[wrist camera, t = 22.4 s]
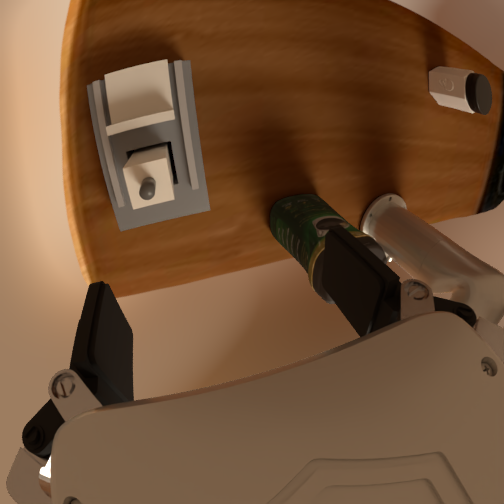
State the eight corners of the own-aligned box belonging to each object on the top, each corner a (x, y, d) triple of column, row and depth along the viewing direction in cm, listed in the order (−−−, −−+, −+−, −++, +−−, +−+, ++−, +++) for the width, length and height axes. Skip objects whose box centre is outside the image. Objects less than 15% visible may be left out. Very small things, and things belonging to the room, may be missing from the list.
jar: (427, 61, 34) (475, 67, 24) (448, 70, 36) (492, 78, 26) (427, 101, 39) (475, 113, 29) (447, 107, 41) (491, 120, 31)
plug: (172, 169, 35) (175, 208, 23) (142, 176, 34) (130, 219, 22) (167, 140, 32) (166, 163, 21) (136, 147, 32) (118, 175, 20)
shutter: (174, 117, 27) (175, 119, 23) (114, 132, 25) (107, 136, 22) (167, 60, 23) (167, 54, 20) (105, 75, 21) (97, 72, 18)
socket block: (205, 197, 38) (211, 213, 33) (125, 215, 36) (119, 235, 31) (187, 65, 28) (190, 58, 23) (97, 87, 25) (84, 85, 20)
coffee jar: (268, 242, 45) (321, 319, 30) (266, 197, 41) (329, 264, 26) (320, 231, 47) (384, 296, 32) (322, 189, 43) (398, 244, 28)
